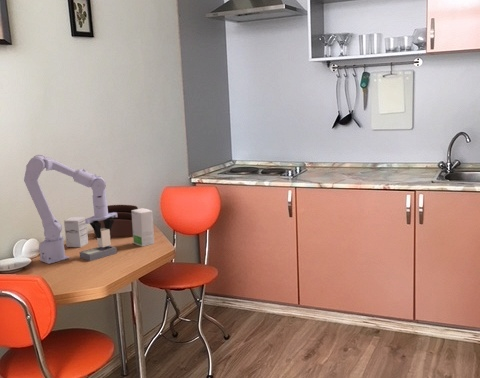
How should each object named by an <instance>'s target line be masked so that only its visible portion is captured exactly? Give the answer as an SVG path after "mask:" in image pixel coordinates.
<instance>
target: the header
mask: <svg viewBox="0 0 480 378" xmlns="http://www.w3.org/2000/svg"><path fill="white" fill-rule="evenodd" d="M117 253H118V250H117V247H116V246H112V245H109V246H106V247H100V246H97V247H93V248H89V249H86V250H82V251H80V252H79V258H80V259H82V260H86V261H89V262H93V261H96V260H99V259H103V258H105V257H106V258H107V257H109V256H112V255H116V254H117Z"/></svg>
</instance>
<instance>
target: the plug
mask: <svg viewBox="0 0 480 378" xmlns="http://www.w3.org/2000/svg"><path fill="white" fill-rule="evenodd" d="M100 232H101V238H97V237H96V240H97V241H96V242H97V247H106V246H112V243H111V237H110V230H109V229H106V228H102V229H100Z"/></svg>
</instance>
